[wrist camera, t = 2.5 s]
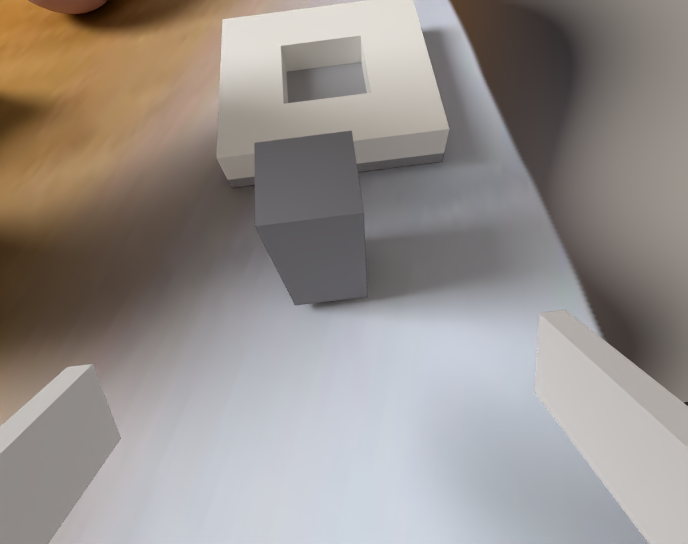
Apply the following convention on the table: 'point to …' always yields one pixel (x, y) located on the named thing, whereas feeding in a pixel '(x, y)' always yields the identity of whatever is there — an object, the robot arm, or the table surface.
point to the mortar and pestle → (70, 5)
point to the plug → (312, 215)
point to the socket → (330, 85)
